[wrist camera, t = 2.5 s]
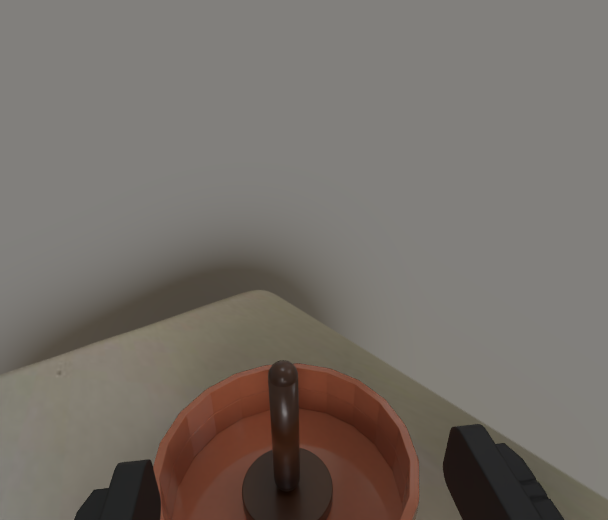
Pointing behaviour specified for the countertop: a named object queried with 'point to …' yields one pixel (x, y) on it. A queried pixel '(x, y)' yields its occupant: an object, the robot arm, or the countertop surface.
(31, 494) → the countertop surface
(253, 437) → the bowl
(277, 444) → the paper towel holder
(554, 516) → the robot arm
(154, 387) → the countertop surface
